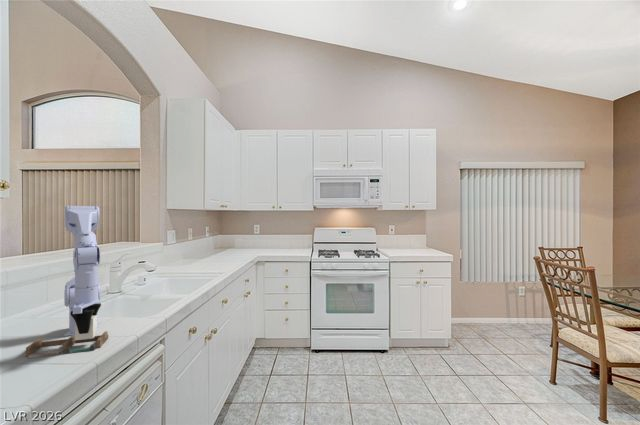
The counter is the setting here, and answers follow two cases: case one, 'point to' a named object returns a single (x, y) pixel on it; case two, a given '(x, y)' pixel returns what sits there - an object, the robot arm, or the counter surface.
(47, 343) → the slot rack
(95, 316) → the plug
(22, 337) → the counter surface
